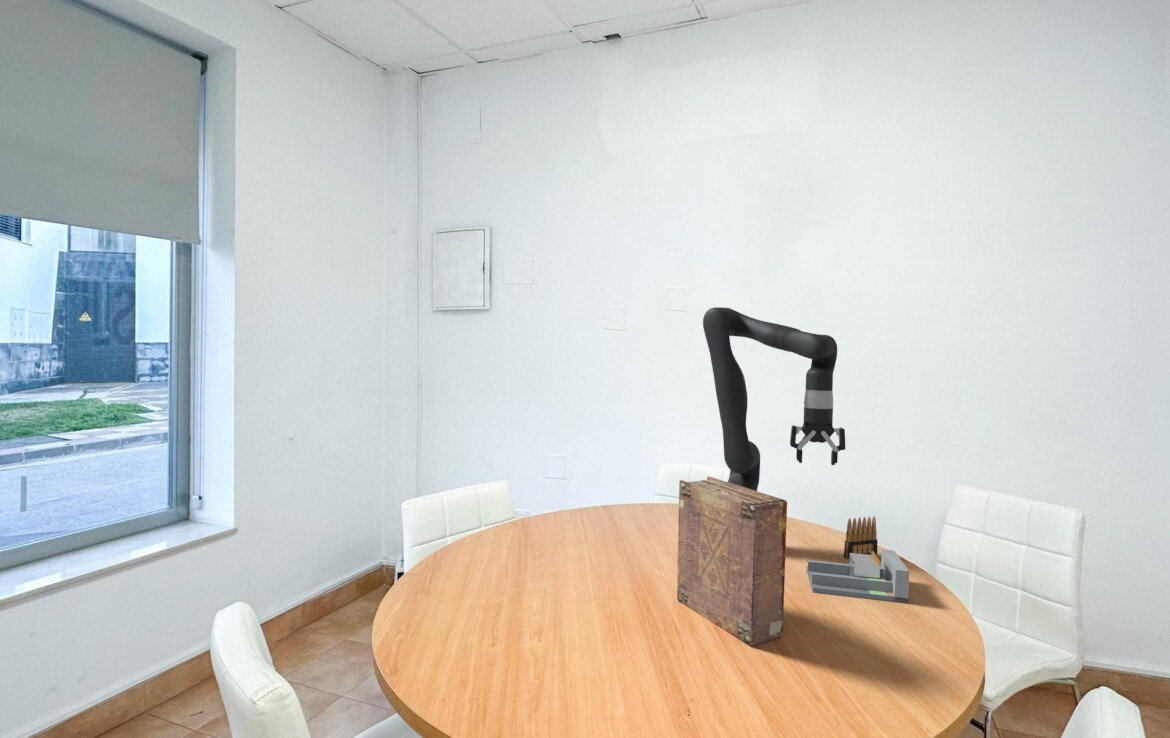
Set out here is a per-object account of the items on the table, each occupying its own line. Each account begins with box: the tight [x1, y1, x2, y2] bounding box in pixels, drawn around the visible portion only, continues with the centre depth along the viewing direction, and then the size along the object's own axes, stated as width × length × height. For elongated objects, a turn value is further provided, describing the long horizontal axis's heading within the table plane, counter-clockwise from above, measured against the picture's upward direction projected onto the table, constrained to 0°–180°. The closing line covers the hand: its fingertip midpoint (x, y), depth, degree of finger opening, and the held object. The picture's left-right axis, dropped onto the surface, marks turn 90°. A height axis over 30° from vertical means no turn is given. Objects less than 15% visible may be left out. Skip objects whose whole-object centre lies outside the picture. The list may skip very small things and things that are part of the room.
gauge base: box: [805, 548, 910, 604], centre depth 153 cm, size 22×15×8 cm
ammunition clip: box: [843, 515, 878, 560], centre depth 175 cm, size 11×2×12 cm, turn 106°
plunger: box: [848, 551, 881, 579], centre depth 152 cm, size 6×8×7 cm
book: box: [676, 476, 788, 647], centre depth 134 cm, size 25×9×30 cm, turn 29°
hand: (816, 463), depth 163 cm, fingers open, 8 cm apart
